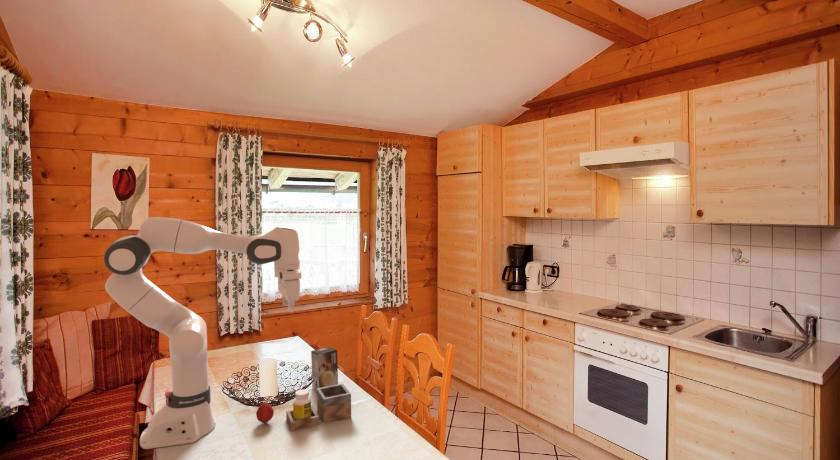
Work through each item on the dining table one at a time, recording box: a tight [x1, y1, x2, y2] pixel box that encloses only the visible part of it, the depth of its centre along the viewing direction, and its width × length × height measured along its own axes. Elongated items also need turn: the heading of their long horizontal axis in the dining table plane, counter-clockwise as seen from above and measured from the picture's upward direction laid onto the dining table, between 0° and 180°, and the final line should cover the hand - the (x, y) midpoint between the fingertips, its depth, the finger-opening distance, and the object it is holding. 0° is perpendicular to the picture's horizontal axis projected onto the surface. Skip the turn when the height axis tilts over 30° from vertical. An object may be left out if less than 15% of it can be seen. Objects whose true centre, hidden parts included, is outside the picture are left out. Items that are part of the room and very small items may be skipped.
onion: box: [255, 401, 275, 424], centre depth 157 cm, size 6×6×8 cm
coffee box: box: [310, 346, 339, 391], centre depth 187 cm, size 9×6×16 cm
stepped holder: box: [285, 383, 352, 432], centre depth 161 cm, size 21×10×9 cm, turn 117°
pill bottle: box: [292, 388, 312, 421], centre depth 158 cm, size 6×6×11 cm
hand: (288, 308), depth 161 cm, fingers open, 8 cm apart
